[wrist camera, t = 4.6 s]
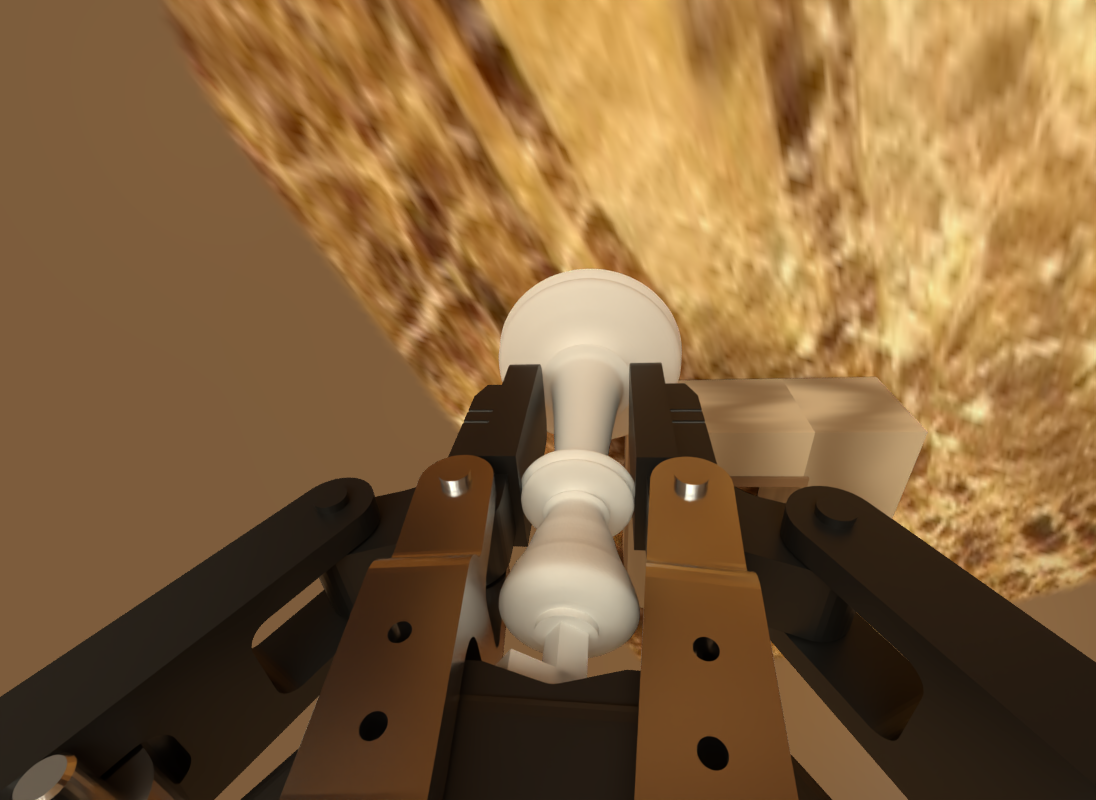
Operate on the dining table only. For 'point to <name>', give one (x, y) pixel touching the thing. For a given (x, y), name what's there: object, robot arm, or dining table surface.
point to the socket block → (802, 441)
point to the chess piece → (579, 465)
